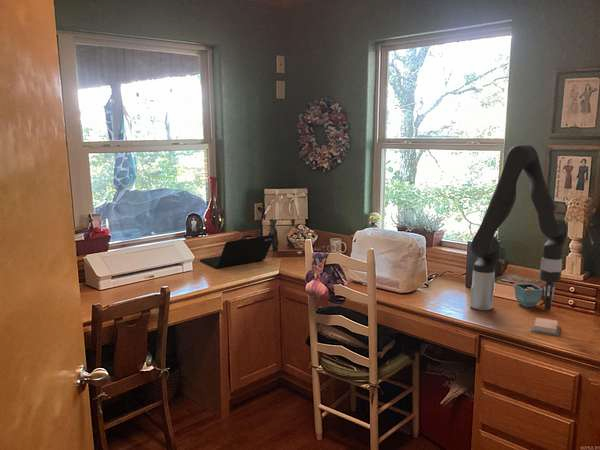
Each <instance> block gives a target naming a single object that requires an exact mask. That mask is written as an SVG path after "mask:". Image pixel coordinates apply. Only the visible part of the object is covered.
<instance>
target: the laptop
mask: <svg viewBox="0 0 600 450" xmlns="http://www.w3.org/2000/svg"><path fill="white" fill-rule="evenodd" d="M275 237H276V233H275V234H268V235H261V236H255V237H254V236H253V237H249V238H241V239H235V240H229V241H226V242H225V244H224V247H223V249H222V252H221V254H220V255H218V256H212V257H205V258H200V259H199V261H200V262H202V263H204V264H206V265H207V266H209V267H212V268H214V269H218V270H219V269H224V268H228V267H229V268H230V267H236V266H240V265H244V264H250V263H251V264H252V263H257V262H260V261H261V262H263V261H264V260H266V257H267V255H268V253H269V251H270V248H271V246H272V243H273V241H274V239H275Z"/></svg>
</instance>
